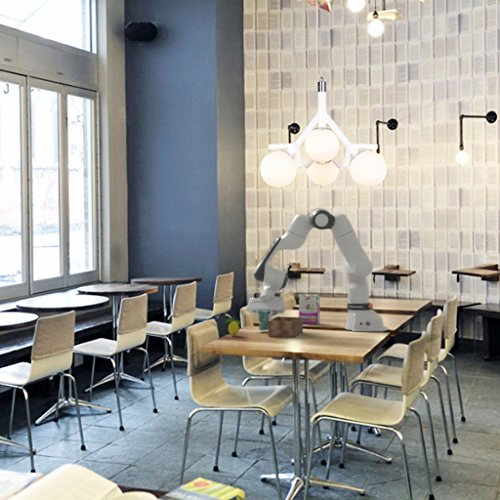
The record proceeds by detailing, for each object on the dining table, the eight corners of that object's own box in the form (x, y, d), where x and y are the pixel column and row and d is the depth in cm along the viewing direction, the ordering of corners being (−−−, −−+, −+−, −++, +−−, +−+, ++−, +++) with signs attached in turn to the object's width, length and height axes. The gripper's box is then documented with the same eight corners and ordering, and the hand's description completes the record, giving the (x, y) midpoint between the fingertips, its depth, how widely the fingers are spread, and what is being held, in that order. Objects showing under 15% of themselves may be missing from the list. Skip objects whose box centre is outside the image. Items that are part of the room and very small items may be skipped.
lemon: (225, 336, 408) (224, 316, 408) (230, 334, 414) (230, 315, 413) (236, 337, 405) (236, 317, 405) (242, 335, 410) (241, 316, 410)
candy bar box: (320, 323, 451) (320, 294, 450) (317, 324, 447) (317, 295, 446) (301, 322, 455) (301, 294, 455) (298, 323, 451) (298, 294, 450)
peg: (268, 329, 424) (268, 310, 423) (266, 330, 420) (266, 311, 420) (261, 328, 425) (261, 310, 425) (259, 330, 421) (258, 311, 421)
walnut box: (302, 332, 418) (302, 317, 417) (295, 337, 402) (295, 321, 401) (277, 331, 422) (276, 316, 422) (268, 336, 406) (268, 320, 405)
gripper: (248, 294, 431) (243, 314, 422) (285, 294, 425) (280, 315, 416) (250, 301, 436) (246, 321, 427) (287, 302, 430) (283, 322, 421)
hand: (263, 318), depth 422 cm, fingers closed on peg, 4 cm apart
